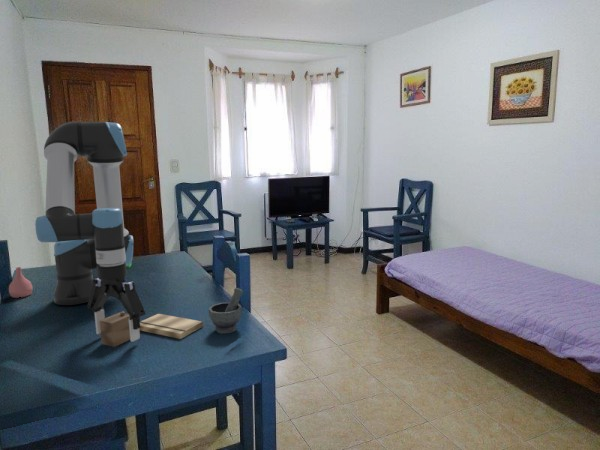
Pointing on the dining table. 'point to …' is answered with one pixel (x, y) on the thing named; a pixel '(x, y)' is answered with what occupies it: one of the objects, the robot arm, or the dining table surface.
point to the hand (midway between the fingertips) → (117, 336)
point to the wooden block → (115, 329)
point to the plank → (170, 325)
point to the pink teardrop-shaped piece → (20, 285)
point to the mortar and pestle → (227, 313)
